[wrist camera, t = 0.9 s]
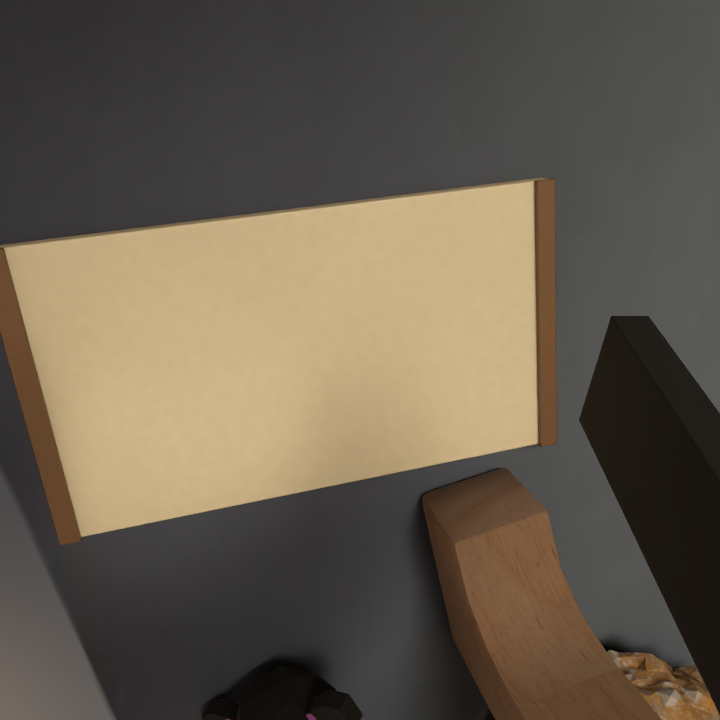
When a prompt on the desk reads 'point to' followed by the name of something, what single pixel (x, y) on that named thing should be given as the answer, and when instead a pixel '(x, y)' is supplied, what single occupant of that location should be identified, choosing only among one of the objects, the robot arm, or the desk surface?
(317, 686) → the toy
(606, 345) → the robot arm
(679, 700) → the rock
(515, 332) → the writing board
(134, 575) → the desk surface
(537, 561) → the wooden block
